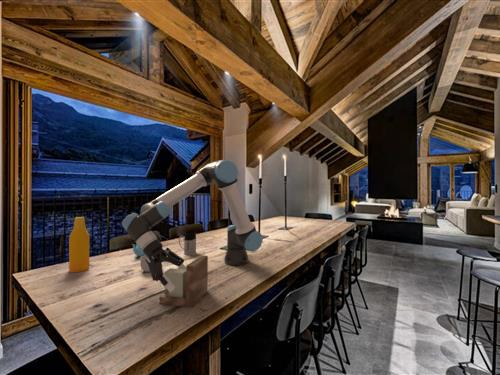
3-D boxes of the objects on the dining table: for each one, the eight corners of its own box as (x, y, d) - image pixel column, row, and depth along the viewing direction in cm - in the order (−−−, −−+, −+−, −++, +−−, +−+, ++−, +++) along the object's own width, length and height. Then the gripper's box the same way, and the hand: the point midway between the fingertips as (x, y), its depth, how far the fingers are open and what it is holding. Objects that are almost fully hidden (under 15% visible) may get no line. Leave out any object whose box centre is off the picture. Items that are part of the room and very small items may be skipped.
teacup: (153, 274, 124) (153, 259, 124) (135, 273, 126) (135, 258, 126) (167, 265, 138) (167, 252, 138) (151, 264, 140) (151, 251, 140)
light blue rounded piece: (152, 258, 151) (152, 242, 151) (129, 259, 148) (129, 243, 148) (155, 252, 164) (155, 238, 164) (135, 253, 161) (135, 238, 161)
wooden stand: (159, 303, 95) (159, 263, 94) (178, 287, 109) (178, 253, 109) (192, 307, 91) (192, 266, 91) (207, 291, 106) (207, 255, 105)
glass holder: (199, 253, 164) (199, 231, 164) (183, 258, 152) (183, 235, 152) (190, 251, 169) (190, 230, 169) (174, 255, 157) (174, 233, 157)
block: (163, 301, 96) (163, 272, 95) (169, 296, 101) (169, 268, 100) (181, 304, 94) (181, 274, 94) (187, 298, 99) (187, 269, 99)
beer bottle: (91, 269, 131) (91, 217, 130) (70, 273, 124) (70, 219, 124) (87, 265, 137) (87, 215, 137) (67, 269, 130) (67, 217, 130)
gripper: (161, 243, 113) (190, 277, 110) (122, 259, 89) (157, 303, 86) (171, 233, 112) (200, 267, 109) (135, 246, 88) (171, 290, 85)
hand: (181, 283), depth 97 cm, fingers open, 13 cm apart
